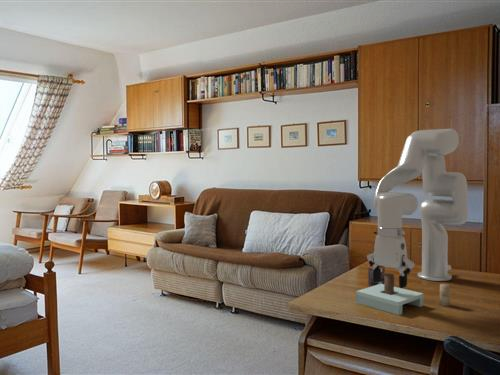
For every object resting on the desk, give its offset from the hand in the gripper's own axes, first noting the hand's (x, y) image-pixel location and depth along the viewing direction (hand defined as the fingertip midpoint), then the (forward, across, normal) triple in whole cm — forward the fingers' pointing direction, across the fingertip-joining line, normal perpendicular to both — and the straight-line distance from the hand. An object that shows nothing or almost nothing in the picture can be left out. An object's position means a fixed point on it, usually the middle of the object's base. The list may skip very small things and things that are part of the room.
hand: (389, 284), depth 147 cm
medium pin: (+7, -12, -13) cm, 19 cm away
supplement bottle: (+7, +15, -14) cm, 21 cm away
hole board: (+7, 0, 0) cm, 7 cm away
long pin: (+7, 0, 0) cm, 7 cm away
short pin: (+7, +8, -13) cm, 16 cm away
